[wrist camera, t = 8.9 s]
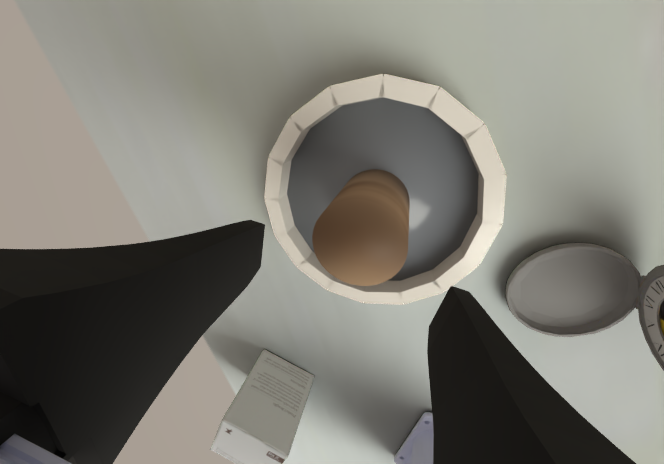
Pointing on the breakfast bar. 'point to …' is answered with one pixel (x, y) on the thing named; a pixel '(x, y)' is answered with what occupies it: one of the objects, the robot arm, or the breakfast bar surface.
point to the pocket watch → (586, 293)
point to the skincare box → (264, 413)
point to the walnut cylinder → (365, 229)
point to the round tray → (405, 163)
